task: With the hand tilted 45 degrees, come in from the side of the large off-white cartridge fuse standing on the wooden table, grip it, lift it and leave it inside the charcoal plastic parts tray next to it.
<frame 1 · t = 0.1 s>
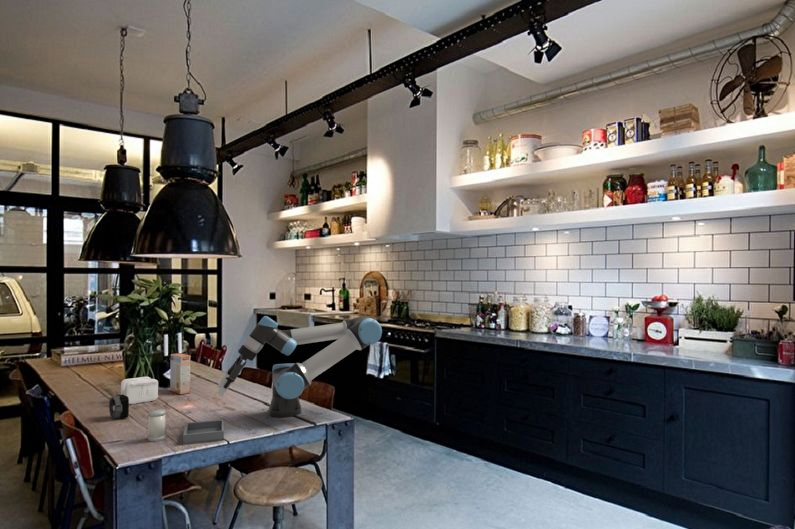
hand: (219, 391, 208), 15 cm above the table, tool tilted 35°, fingers open, 13 cm apart
parts tray: (204, 435, 197), on the table
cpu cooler: (119, 418, 223), on the table
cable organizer: (139, 402, 253), on the table
cracker box: (180, 392, 274), on the table
blown fuse: (156, 439, 193), on the table
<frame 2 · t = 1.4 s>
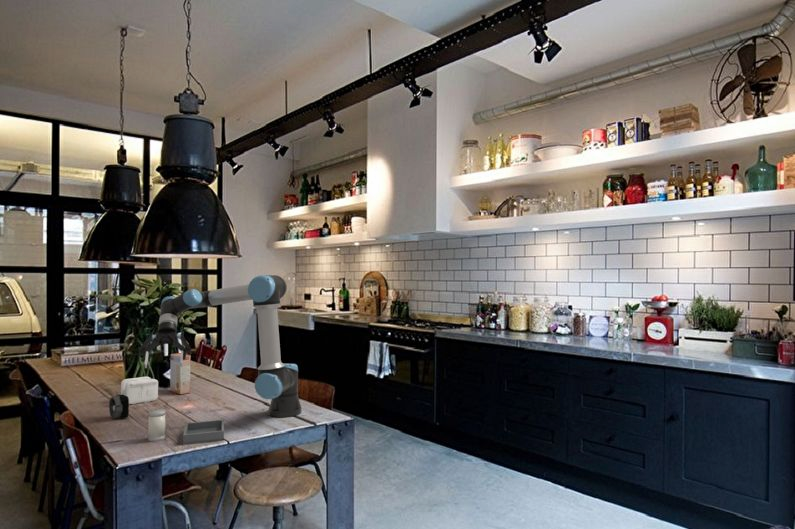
hand: (163, 365, 207), 27 cm above the table, tool tilted 45°, fingers open, 13 cm apart
nothing on the table moved.
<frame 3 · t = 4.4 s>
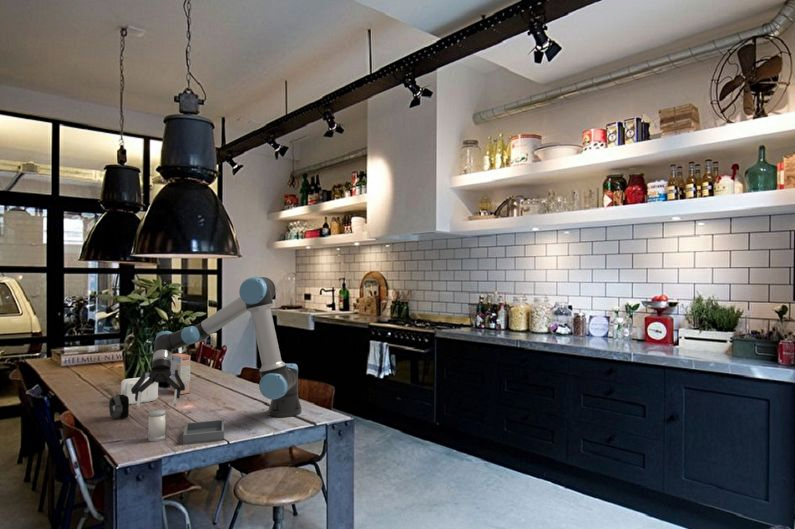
hand: (156, 406, 200), 11 cm above the table, tool tilted 45°, fingers open, 13 cm apart
nothing on the table moved.
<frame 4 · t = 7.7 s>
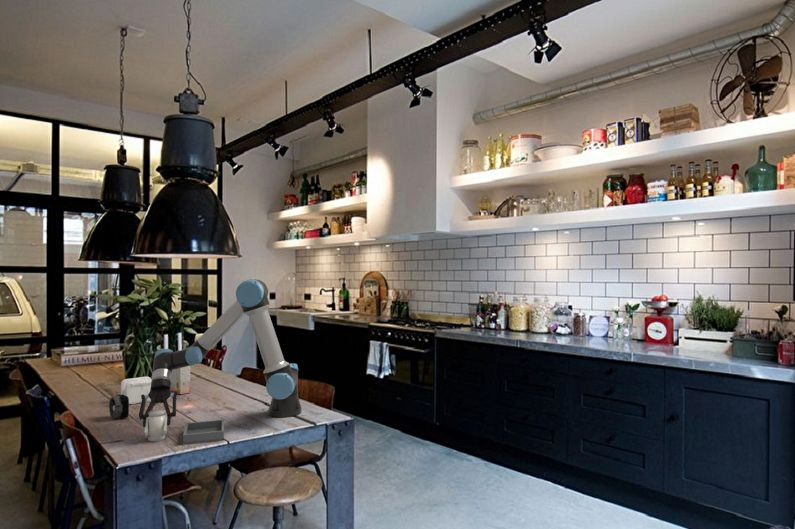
hand: (155, 433, 190), 3 cm above the table, tool tilted 45°, fingers closed on blown fuse, 6 cm apart
blown fuse: (156, 439, 193), on the table, touching gripper
everything else where it was.
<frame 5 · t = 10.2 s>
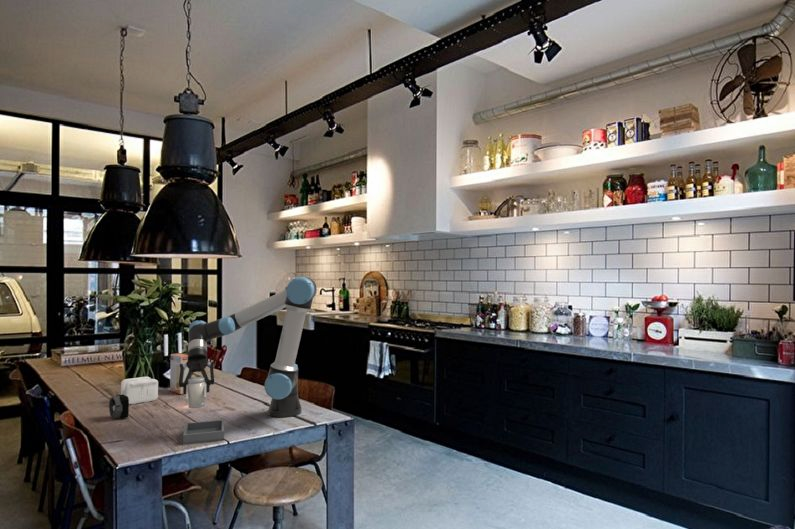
hand: (196, 399, 193), 15 cm above the table, tool tilted 45°, fingers closed on blown fuse, 6 cm apart
blown fuse: (196, 406, 197), point 12 cm above the table, touching gripper
everything else where it was.
when the fingers open (6 cm above the table, at t = 13.0 s): blown fuse drops 2 cm, resting on parts tray.
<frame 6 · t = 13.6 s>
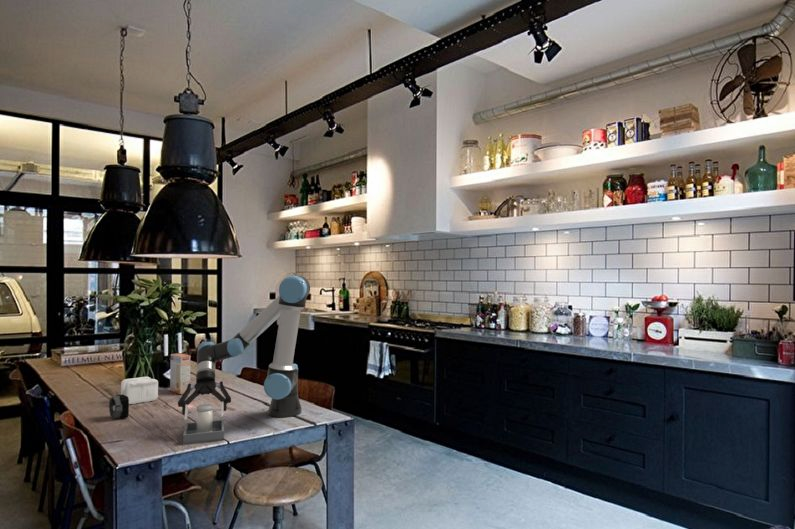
hand: (204, 419, 195), 7 cm above the table, tool tilted 45°, fingers open, 13 cm apart
blown fuse: (204, 433, 197), point 1 cm above the table, touching parts tray
everything else where it was.
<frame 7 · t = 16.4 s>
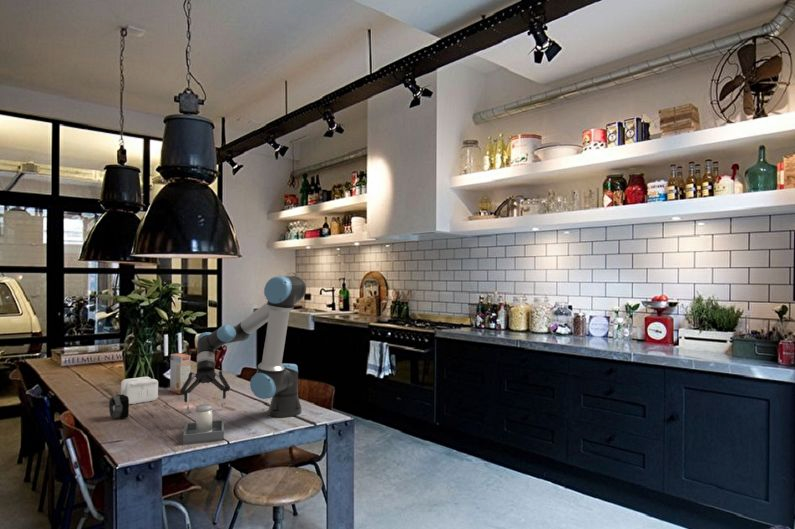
hand: (205, 406, 210), 8 cm above the table, tool tilted 40°, fingers open, 13 cm apart
nothing on the table moved.
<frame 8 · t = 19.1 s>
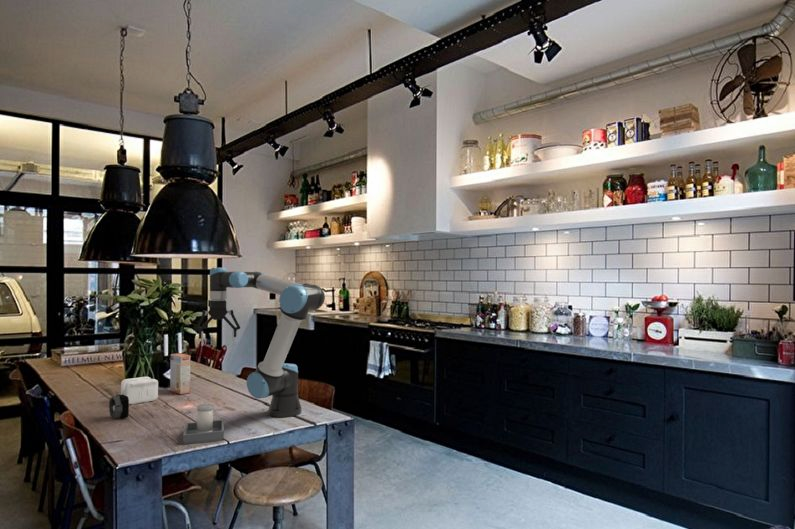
hand: (217, 345, 232), 32 cm above the table, tool pointing down, fingers open, 13 cm apart
nothing on the table moved.
at the end: blown fuse inside the target area on the parts tray (0.1 cm from its centre), point 0.9 cm above the parts tray's base; the gripper is holding nothing; blown fuse tilted 2° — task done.
